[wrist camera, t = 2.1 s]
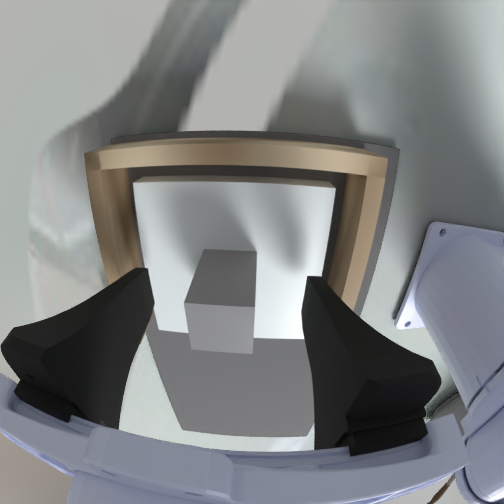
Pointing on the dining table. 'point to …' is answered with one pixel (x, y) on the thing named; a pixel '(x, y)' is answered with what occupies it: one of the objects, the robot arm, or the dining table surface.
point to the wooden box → (238, 153)
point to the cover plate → (234, 226)
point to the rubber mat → (264, 349)
